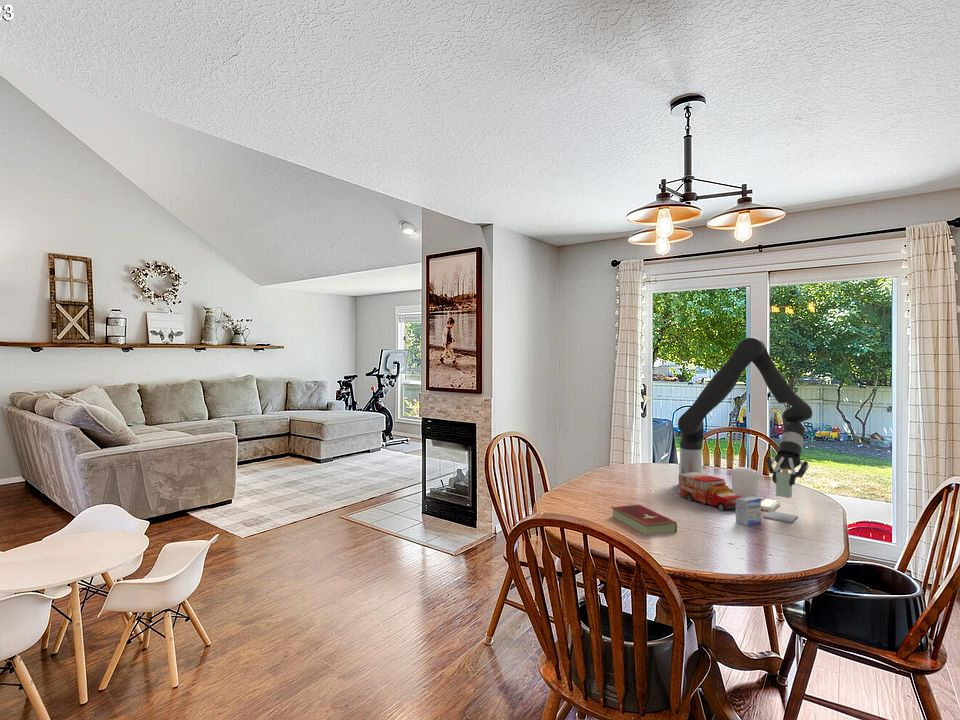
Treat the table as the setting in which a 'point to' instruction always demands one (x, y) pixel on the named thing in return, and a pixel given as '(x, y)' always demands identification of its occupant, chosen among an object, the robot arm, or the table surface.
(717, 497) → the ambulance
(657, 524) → the hardcover book
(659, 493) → the table surface
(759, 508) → the medicine box
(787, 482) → the stub block
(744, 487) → the photo printer
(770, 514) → the stub pad
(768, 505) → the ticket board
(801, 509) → the table surface
